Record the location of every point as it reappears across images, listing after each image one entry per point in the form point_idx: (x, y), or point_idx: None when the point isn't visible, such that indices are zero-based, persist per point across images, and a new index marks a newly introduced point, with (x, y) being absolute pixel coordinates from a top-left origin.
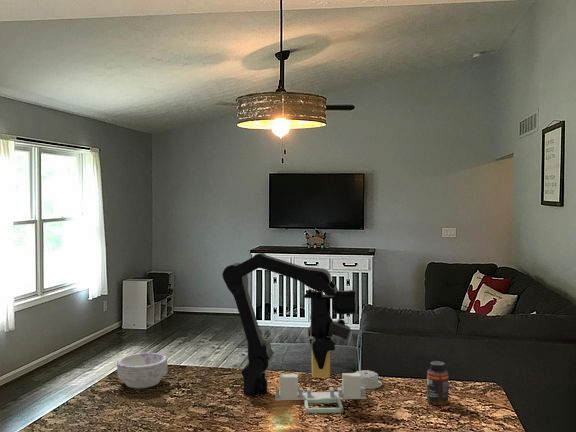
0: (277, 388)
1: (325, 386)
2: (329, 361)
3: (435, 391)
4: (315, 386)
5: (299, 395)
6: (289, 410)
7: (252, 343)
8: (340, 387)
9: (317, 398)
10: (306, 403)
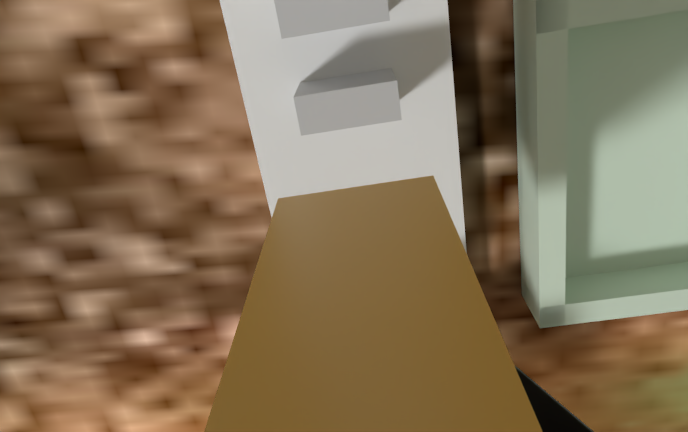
0: None
1: (13, 161)
2: (495, 329)
3: None
4: (46, 245)
5: None
6: (608, 374)
7: None
8: (288, 2)
9: (538, 225)
10: (660, 302)
